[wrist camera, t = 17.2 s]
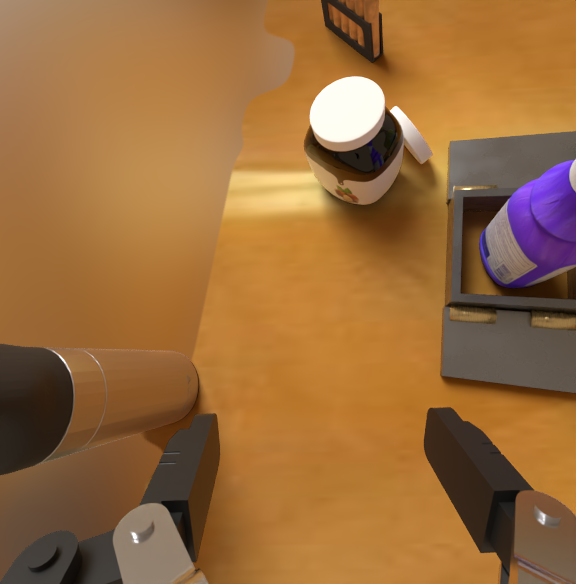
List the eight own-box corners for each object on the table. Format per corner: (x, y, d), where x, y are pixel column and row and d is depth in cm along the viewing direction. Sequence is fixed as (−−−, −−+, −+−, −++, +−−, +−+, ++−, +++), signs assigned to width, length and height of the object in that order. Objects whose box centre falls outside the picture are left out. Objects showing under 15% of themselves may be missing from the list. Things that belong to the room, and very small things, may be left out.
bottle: (554, 283, 31) (737, 203, 15) (491, 298, 33) (596, 238, 16) (526, 218, 33) (661, 83, 17) (467, 234, 34) (540, 124, 18)
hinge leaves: (440, 375, 33) (446, 377, 29) (448, 147, 37) (454, 127, 34) (584, 393, 29) (609, 398, 26) (574, 138, 33) (595, 114, 30)
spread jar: (308, 185, 41) (280, 124, 31) (357, 114, 41) (347, 27, 30) (388, 228, 37) (388, 174, 26) (443, 149, 37) (467, 62, 26)
